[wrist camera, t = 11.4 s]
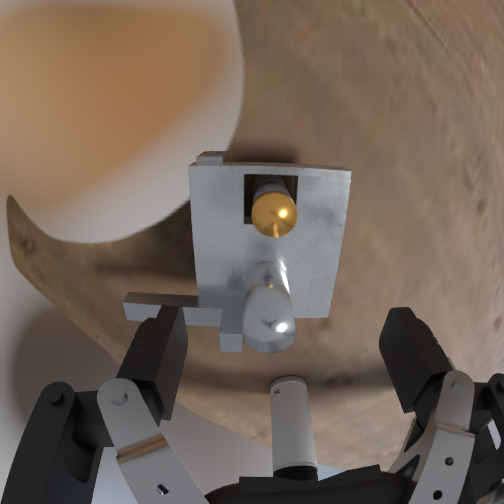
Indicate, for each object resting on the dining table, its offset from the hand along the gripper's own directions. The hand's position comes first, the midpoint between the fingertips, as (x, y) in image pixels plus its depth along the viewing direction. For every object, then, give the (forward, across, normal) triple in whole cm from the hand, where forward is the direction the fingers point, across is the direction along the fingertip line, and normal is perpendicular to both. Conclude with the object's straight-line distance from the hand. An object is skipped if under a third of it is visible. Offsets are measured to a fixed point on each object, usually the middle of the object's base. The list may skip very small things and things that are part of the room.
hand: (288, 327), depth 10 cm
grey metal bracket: (+22, +4, +5) cm, 23 cm away
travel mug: (+22, -5, +34) cm, 41 cm away
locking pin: (+22, 0, 0) cm, 22 cm away
